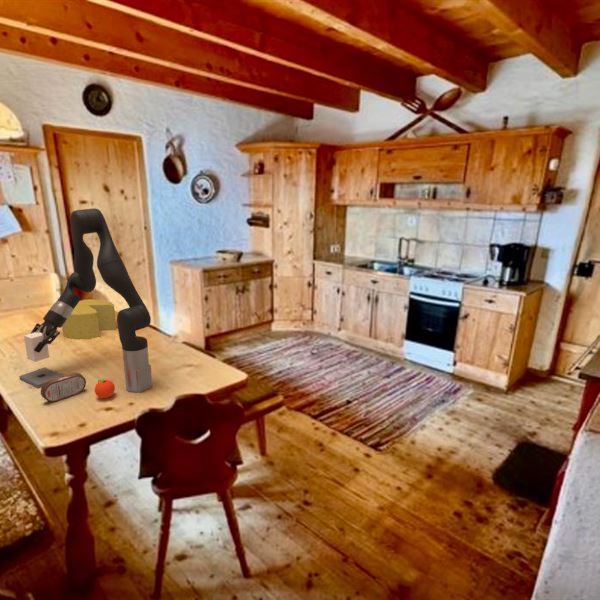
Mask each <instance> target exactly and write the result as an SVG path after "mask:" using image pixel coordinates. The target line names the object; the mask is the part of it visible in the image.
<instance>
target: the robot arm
mask: <svg viewBox="0 0 600 600" xmlns="http://www.w3.org/2000/svg"><path fill="white" fill-rule="evenodd" d="M104 216H105V215H104V214H103V213H102V211H101V210H100V209H98V208H84V209H77V210H73V211H72V212H71V214H70V217H69V219H70V220H69V221H70V230H71V237H72V243H73V244H72V245H73V252H74V255H73V256H74V257H73V258H74V259H73V260H74V261H73V270H74V271H73V272H72V273H70V275H69V277H68V279H67V282H66V284H65V288H64V289H63V292H62V293H61V295H60V296H59V297H58V298H57V300H56V301H55V302H54V304H52V306H51V307H50V308H49V309H48V311H47V312H46V314H44V317H42V320H43V321H44V322H42V323H41V324H40V323H36V324H35V325H34V327H33V328H32V330H31V332H30V333H29V334H31V333H38V332H40V333H42V335H43V338H42V339H41V341H40V342H39V344H38V345H37V346H36V348H35V349H34V351H36V352H38V353H39V352H40V351H41V350H42V349H43V347H44V346H45V345H47V344H48V345H51V344H52V343H53V342H54V341H55V340H56V339H57V337H58V336H59V335H60V334H61V331H59V330H58V329H59V328H60V329H62V326H63V324H64V323H65V321H66V320H67V319H68V317H69V316H70V315H71V313H72V311H73V309H74V308H75V307H76V305H77V304H78V302H79V301H81V297H80V295H78V294H77V293H76V292H75V289H77V290H79V291H82V292H84V293H88V294H89V293H90V292H93V291H94V290H95V288H96V286H97V279H96V274H95V271H94V253H93V251H92V250H91V249H90V247H89V246H88V245H87V244H86V242H85V240H84V235H89V234H94V233H96V234H97V236H98V240H99V250H98V255H97V259H96V267H97V270H98V273H99V274H100V276H101V278H102V281H103V282H104V283H105V284H106V285H107V286H108V287H110V289H112V290H113V291H114V292H116V293H117V294H119V295H120V297H122V298H123V299H124V300H125V302H126V303H127V305H128V307H127V308H124V309H121V310H119V311H118V313H117V316H116V326H117V329H118V331H117V332H118V337H119V342H120V343H121V349H122V359H123V370H124V371H123V373H124V380H125V390H126V391H128V392H131V393H142V392H144V391H146V390H148V389H149V388H152V387H153V379H152V378H153V377H152V365H150V360H149V345H148V339H147V338H146V337H144V336H139V335H137V333H136V331H140V330H142V329H146V328H148V327H149V326H150V325H151V323H152V322H151V320H152V319H151V315H150V312H149V310H148V308H147V306H146V304H145V303H144V301H143V299H142V298H141V296H140V294H139V291H137V288H136V287H135V285H134V283H133V281H132V278H131V276H130V275H129V272H128V270H127V268H126V265H125V264H124V262H123V259H122V258H121V256H120V253H119V250H118V249H117V247H116V245H115V243H114V240H113V238H112V235H111V231H110V229H109V227H108V224H107V222H106V221H107V220H106V219H105V217H104ZM45 338H46V339H45ZM44 339H45V340H44Z"/></svg>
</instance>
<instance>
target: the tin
mask: <svg viewBox="0 0 600 600" xmlns="http://www.w3.org/2000/svg"><path fill="white" fill-rule="evenodd" d="M86 385H87V380H86V377H84V376H83V374H81V373H79V372H72V373H69V374H65V375H64V376H61V377H58V378H54V379H51V380H49V381H47V382H46V383H45V384H44V385H43V386H42V387H41V388H40V396H41V397H42V398H43V399H44V400H46V401H48V402H50V403H51V402H52V403H53V402H58V401H61V400H64V399H67V398H70V397H73V396H76V395H78V394H80V393H81V392H83V390H84V389H85V387H86Z"/></svg>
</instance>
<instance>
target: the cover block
mask: <svg viewBox="0 0 600 600" xmlns="http://www.w3.org/2000/svg"><path fill="white" fill-rule="evenodd" d="M30 333H31V332H30ZM30 333H29V334H24V335H23V338H24V345H25V351H26V356H27V360H30V361H32V362H34V363H37V362H39V361H42V360H44V359H49V358H50V352H49V347H48V346H49V344H47V345H45V346H44V347H43V349H42V350H41V351H40V352H39V353H38V352H36V351H34V349H35V348H36V346H37V345H38V344H39V342H40V341H41V339H42V338H43V335H42V333H40V332H38V333H35V332H34V333H31V334H30ZM45 339H46V338H45ZM45 339H44V340H45Z"/></svg>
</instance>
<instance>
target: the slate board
mask: <svg viewBox="0 0 600 600" xmlns="http://www.w3.org/2000/svg"><path fill="white" fill-rule="evenodd" d="M61 376H65V375H64V374H62V373H59V372H57V371H54V370H52V369H50V368H47V367H42V368H39V369H36V370H32V371H30V372H26V373H24V374H22V375H19V380H20V381H23V382H24V383H26V384H29V385H31V386H32V387H34V388H37V389H41V388H42V386H43V385H44V384H45V383H46V382H47V381H49V380H51V379H54V378H58V377H61Z"/></svg>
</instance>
